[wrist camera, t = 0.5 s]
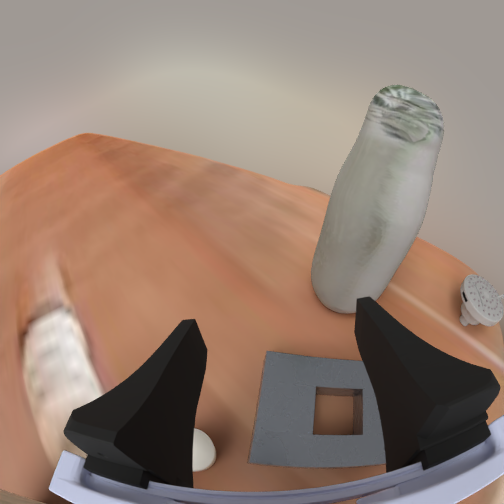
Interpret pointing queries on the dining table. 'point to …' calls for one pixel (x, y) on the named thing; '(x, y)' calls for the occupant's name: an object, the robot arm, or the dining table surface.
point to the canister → (15, 499)
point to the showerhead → (480, 302)
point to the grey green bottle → (378, 198)
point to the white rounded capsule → (202, 451)
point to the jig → (302, 414)
